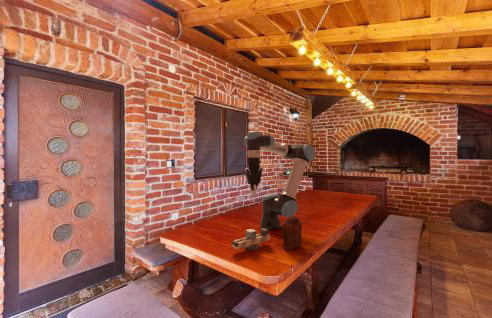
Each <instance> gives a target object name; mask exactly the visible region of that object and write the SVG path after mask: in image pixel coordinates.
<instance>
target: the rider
mask: <svg viewBox="0 0 492 318" xmlns="http://www.w3.org/2000/svg"><path fill="white" fill-rule="evenodd" d="M256 235H257V230H255V229H253V228H249V229H246V230H245V237H247V238H248V239H254V238H256Z"/></svg>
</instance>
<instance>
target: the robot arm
mask: <svg viewBox="0 0 492 318" xmlns="http://www.w3.org/2000/svg"><path fill="white" fill-rule="evenodd" d="M275 140H276V139H275V137H274V136H273V135H271V134H261V132H260V131H255V130H254V131H248V132H247V136H245V137H244V139H243V145H244V146H245V147H246V148H247V167H246V168H244V169H243V170H244V173H245V176H246V177H245V178H246V181H247V184H248V185H250V191H251V197H257V190H258V185H259V184H261V180H262V179H261V178H262V174H263V170H264V168H263V167H261V166H260V163H261V158H260V156H261V151H265V152H268V153H273V154H277V155H279V156H280V157H283V158H286V159H288V160H292V161H293V163H292V164H293V165H292V166H291V167H292V168H291V170H290V173H289V176H288V179H287V181H286V183H285V187H284V189H283V192H282V193H280V195H279V194H278V193H277V194H276V193H274V194H271V193H270V194H264V195H263V196H262V199H261V206H262V207H261V208H262V209H261V210H262V211H261V212H262V214H261V215H262V216H261V219H260V222H259V227H260V229H262V228H265V229H268V230H278V229H281V227H282V223H281V219H280V217H279V215H280V216H282V217H284V218H288V217H290V216H295V215H296V214H297V211H298V207H299V206H298V203H297V198H296V196H297V193H298V189H299V186H300V184H301V181H302V178H303V175H304V172H305V169H306V167H307V166H308V165H309V163H310V162H312V161H313V160H315V156H316V152H315V147H313V146H312V145H311V144H307V143H304V144H286V143H278V142H275Z"/></svg>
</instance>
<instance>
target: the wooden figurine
mask: <svg viewBox="0 0 492 318" xmlns="http://www.w3.org/2000/svg"><path fill="white" fill-rule="evenodd" d="M302 230H303V224H302V221H300V219H299V218H298V217H297V216H295V215H293V216H290V217H286V219H285V221H284V222H283V224H282V231H281V233H282V234H281V236H282V239H283V240H282V249H284V250H294V249H297V248H300V247H301V245H302V239H303V238H302V237H303V236H302Z"/></svg>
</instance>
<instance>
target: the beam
mask: <svg viewBox="0 0 492 318" xmlns="http://www.w3.org/2000/svg"><path fill="white" fill-rule="evenodd" d="M270 240H271V237H270V234H269V229H265V228H260V233H256V238H254V239H248V238H247V237H246V236H245V237H242V238H241V237H240V238H238V239H233V240H231V247H232V248H234V249H235V250H239V249H247V250H248V251H250V252H252V251H255V250H259V244H261V243H265V242H268V241H270Z"/></svg>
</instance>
